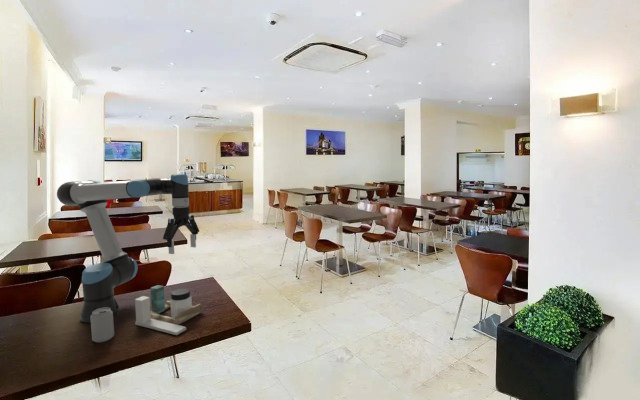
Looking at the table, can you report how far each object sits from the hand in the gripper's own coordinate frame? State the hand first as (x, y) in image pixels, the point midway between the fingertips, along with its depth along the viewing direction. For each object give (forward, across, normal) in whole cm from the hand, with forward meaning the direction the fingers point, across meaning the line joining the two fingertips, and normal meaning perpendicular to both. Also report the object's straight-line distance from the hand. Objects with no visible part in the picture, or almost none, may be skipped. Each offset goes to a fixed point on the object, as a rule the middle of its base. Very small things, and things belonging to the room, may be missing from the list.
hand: (182, 250), depth 159 cm
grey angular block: (+29, -20, -6) cm, 35 cm away
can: (+29, -35, +8) cm, 46 cm away
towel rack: (+29, -9, -1) cm, 30 cm away
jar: (+29, -8, -6) cm, 31 cm away
